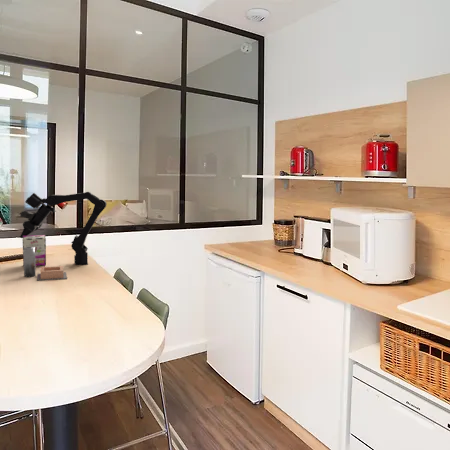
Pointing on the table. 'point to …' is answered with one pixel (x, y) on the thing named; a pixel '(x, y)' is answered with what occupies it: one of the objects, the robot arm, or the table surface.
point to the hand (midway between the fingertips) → (23, 236)
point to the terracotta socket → (51, 273)
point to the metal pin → (29, 262)
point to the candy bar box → (36, 248)
